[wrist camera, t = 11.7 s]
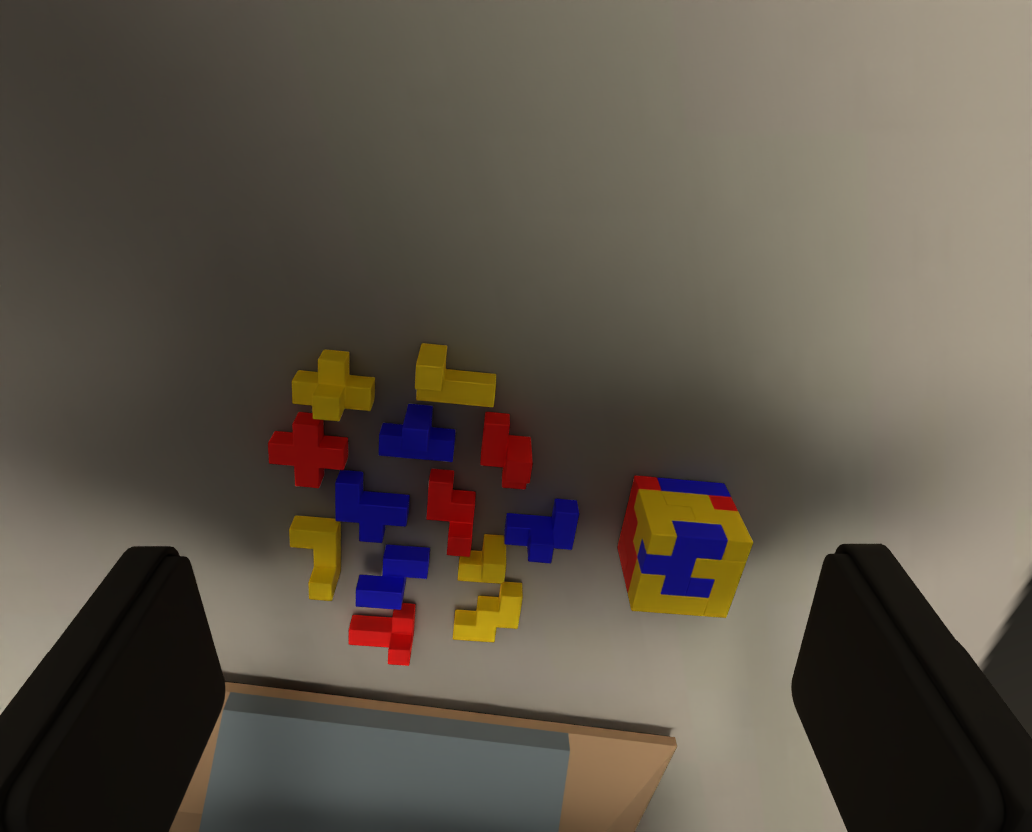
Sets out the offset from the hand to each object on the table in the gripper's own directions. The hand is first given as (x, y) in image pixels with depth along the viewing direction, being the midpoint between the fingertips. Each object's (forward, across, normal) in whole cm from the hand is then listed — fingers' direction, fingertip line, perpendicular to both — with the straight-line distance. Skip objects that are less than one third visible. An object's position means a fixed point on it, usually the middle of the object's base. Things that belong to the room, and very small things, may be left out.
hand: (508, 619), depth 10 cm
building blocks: (+3, 0, 0) cm, 3 cm away
